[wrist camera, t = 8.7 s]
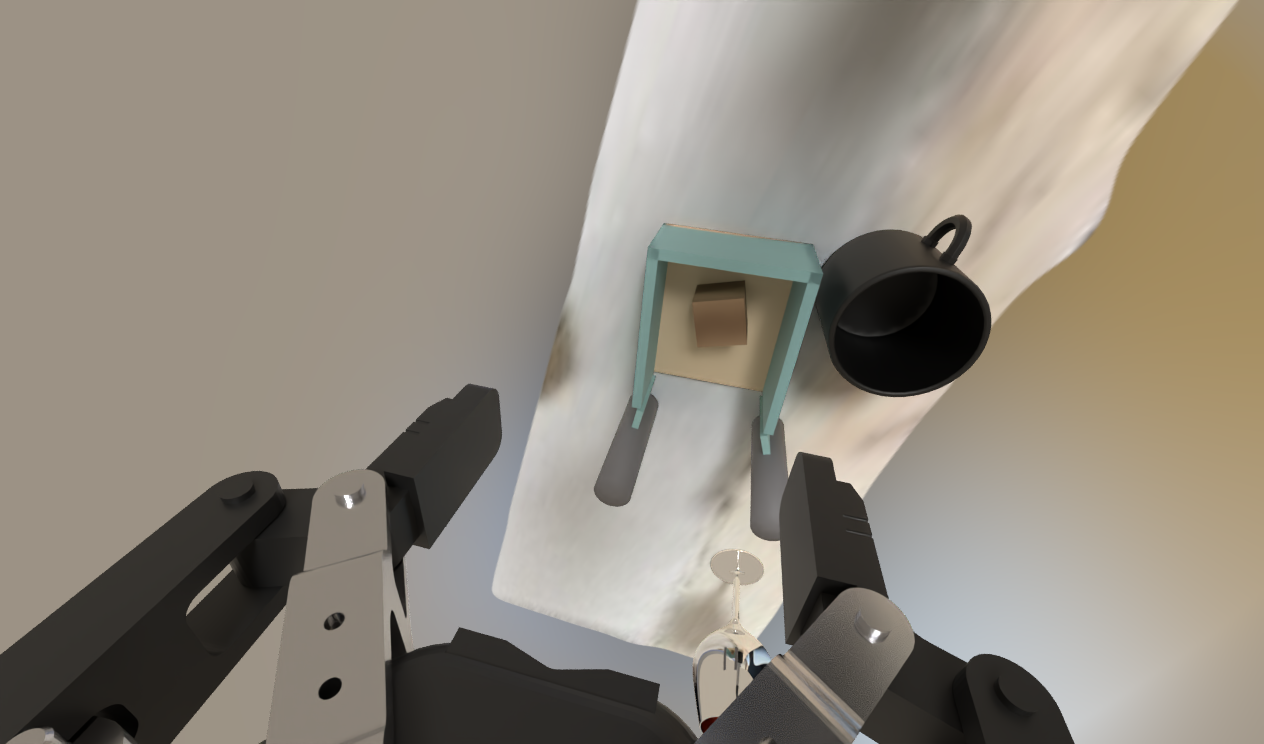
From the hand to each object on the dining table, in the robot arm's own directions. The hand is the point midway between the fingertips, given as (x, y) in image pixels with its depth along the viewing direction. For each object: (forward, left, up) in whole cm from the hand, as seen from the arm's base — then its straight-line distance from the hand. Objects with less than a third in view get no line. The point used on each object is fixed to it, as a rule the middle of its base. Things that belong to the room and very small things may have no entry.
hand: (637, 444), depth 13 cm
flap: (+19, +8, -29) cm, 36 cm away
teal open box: (+9, +2, -30) cm, 31 cm away
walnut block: (+8, +2, -30) cm, 31 cm away
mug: (+3, +14, -30) cm, 34 cm away
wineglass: (+42, +10, -30) cm, 53 cm away
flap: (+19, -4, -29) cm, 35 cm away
